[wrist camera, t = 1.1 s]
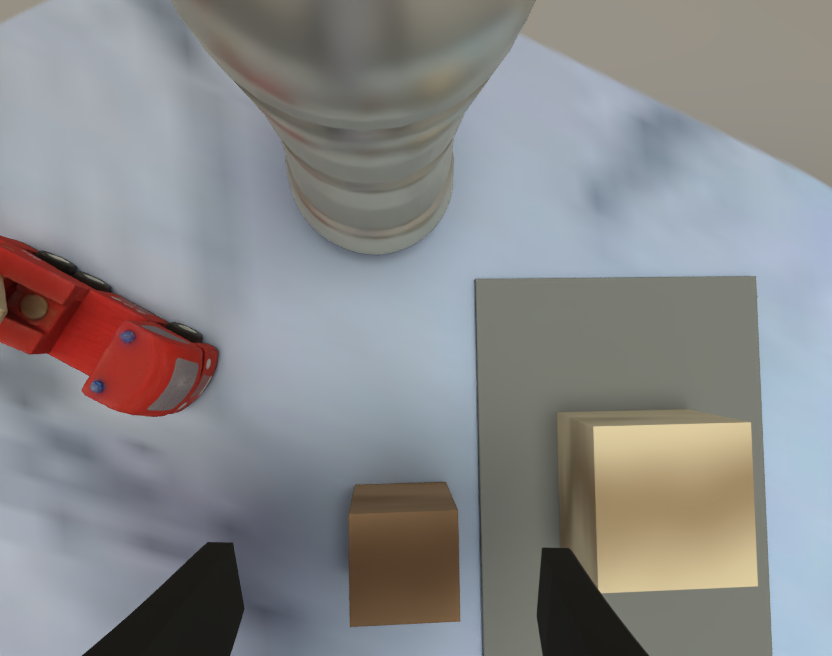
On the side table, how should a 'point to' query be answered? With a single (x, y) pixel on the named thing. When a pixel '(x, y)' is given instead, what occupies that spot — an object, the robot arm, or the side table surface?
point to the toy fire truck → (100, 334)
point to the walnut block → (403, 554)
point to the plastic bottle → (362, 99)
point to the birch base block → (658, 499)
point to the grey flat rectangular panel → (608, 391)
